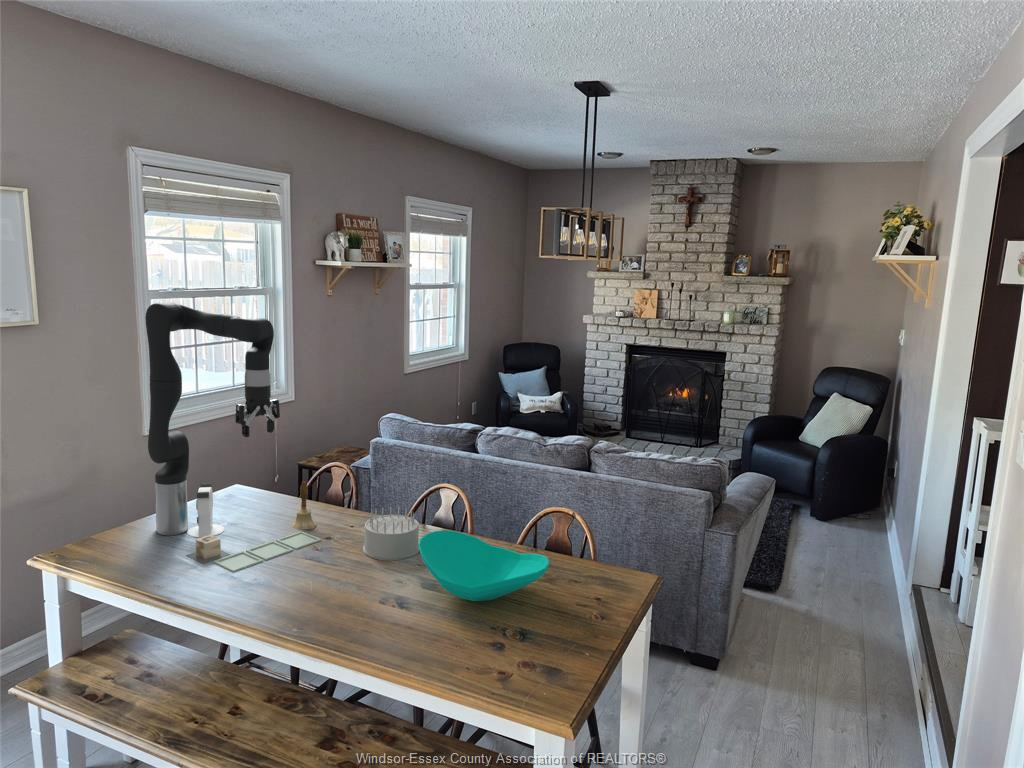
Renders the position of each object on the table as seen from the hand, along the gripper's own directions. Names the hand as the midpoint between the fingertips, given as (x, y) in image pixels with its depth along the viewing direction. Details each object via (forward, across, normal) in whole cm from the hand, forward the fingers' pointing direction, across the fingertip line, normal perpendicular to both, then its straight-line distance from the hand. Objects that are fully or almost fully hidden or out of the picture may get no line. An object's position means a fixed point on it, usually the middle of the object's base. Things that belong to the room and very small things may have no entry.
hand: (258, 434), depth 221 cm
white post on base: (+36, +5, -22) cm, 43 cm away
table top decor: (+36, -19, +75) cm, 86 cm away
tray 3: (+36, -9, +8) cm, 38 cm away
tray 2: (+36, +2, +8) cm, 37 cm away
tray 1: (+36, +13, +8) cm, 39 cm away
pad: (+36, +16, -3) cm, 40 cm away
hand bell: (+36, -19, -2) cm, 41 cm away
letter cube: (+36, +16, -3) cm, 39 cm away
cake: (+36, -25, +34) cm, 56 cm away
